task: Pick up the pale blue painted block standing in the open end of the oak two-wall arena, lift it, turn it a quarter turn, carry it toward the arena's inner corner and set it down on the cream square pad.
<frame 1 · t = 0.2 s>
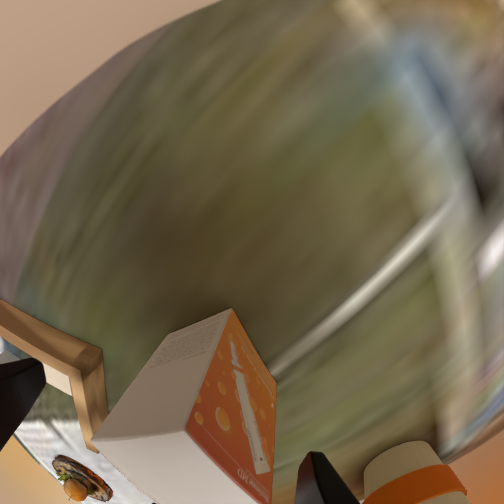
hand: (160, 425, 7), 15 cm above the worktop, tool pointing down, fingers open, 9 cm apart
small box: (223, 358, 23), on the worktop
reusable coffee cup: (397, 462, 25), on the worktop
block: (22, 370, 27), on the worktop
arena: (199, 482, 27), on the worktop
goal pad: (50, 366, 26), on the worktop
burger: (84, 475, 32), on the worktop
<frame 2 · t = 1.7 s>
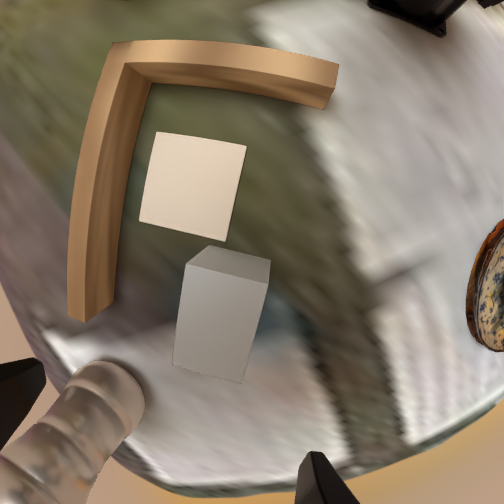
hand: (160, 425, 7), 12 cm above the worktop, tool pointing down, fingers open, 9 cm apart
block: (230, 295, 19), on the worktop
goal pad: (189, 184, 18), on the worktop
plastic bottle: (119, 381, 22), on the worktop
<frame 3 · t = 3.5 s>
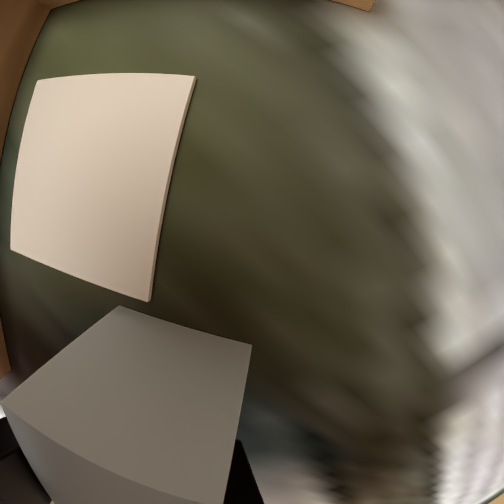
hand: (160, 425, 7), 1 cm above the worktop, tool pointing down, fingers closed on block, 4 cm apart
block: (171, 401, 8), on the worktop, touching gripper
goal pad: (78, 173, 7), on the worktop
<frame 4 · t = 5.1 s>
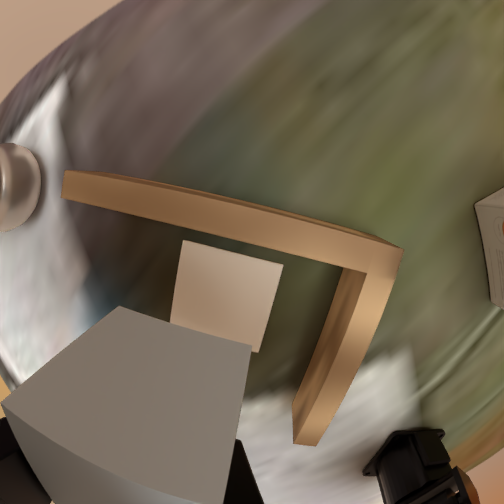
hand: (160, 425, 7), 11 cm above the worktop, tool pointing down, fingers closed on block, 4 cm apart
block: (171, 401, 8), point 9 cm above the worktop, touching gripper
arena: (403, 452, 20), on the worktop
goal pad: (222, 298, 18), on the worktop
plastic bottle: (27, 185, 17), on the worktop
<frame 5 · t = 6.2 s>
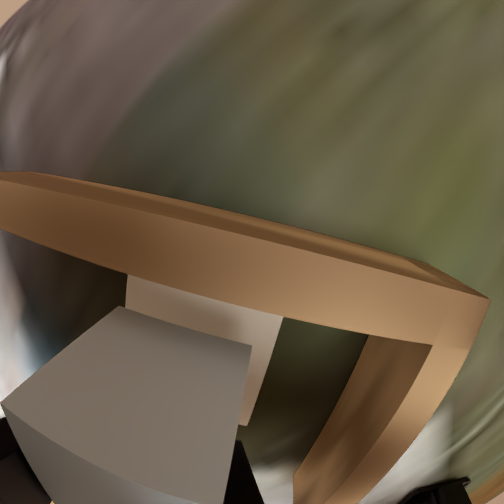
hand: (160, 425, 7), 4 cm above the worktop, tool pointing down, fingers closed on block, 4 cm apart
block: (171, 401, 8), point 3 cm above the worktop, touching gripper
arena: (422, 503, 13), on the worktop
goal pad: (191, 357, 11), on the worktop
when the fingers open (3 cm above the worktop, at t = 6.8 s): block drops 1 cm, resting on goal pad.
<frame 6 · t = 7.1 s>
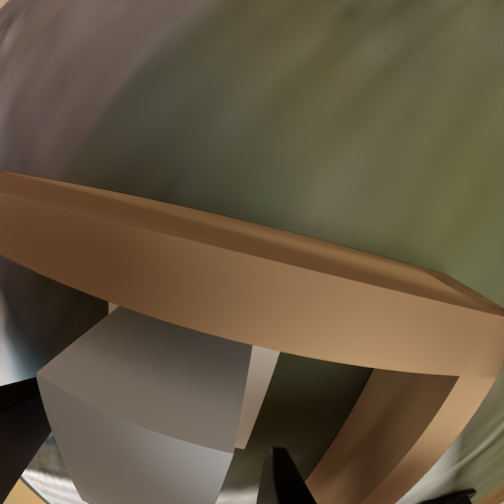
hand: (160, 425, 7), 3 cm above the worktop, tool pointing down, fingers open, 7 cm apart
block: (182, 382, 10), resting on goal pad
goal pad: (182, 378, 10), on the worktop
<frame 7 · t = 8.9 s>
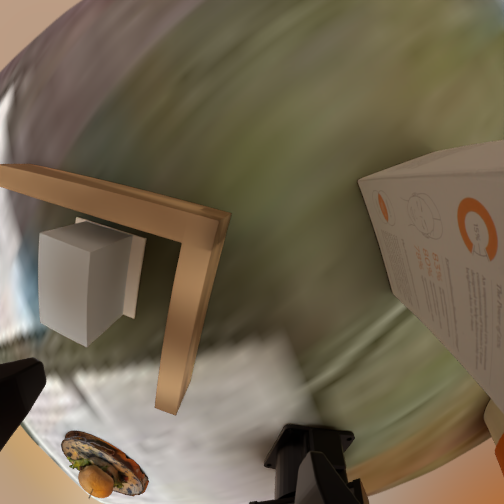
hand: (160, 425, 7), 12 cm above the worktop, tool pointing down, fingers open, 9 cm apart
small box: (415, 221, 17), on the worktop
block: (103, 268, 19), resting on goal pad
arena: (307, 449, 21), on the worktop
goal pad: (104, 267, 19), on the worktop
burger: (106, 460, 26), on the worktop
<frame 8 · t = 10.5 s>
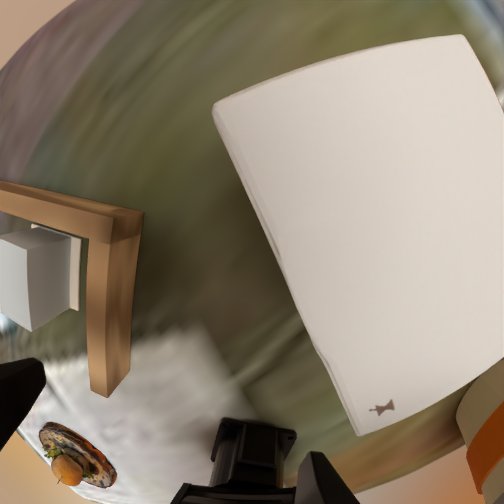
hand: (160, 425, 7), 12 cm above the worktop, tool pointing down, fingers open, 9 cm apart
small box: (329, 207, 17), on the worktop
reusable coffee cup: (488, 394, 19), on the worktop
block: (52, 267, 20), resting on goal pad
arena: (251, 446, 22), on the worktop
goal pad: (54, 266, 20), on the worktop
burger: (79, 452, 26), on the worktop
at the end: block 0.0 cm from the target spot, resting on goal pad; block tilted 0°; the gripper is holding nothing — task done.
